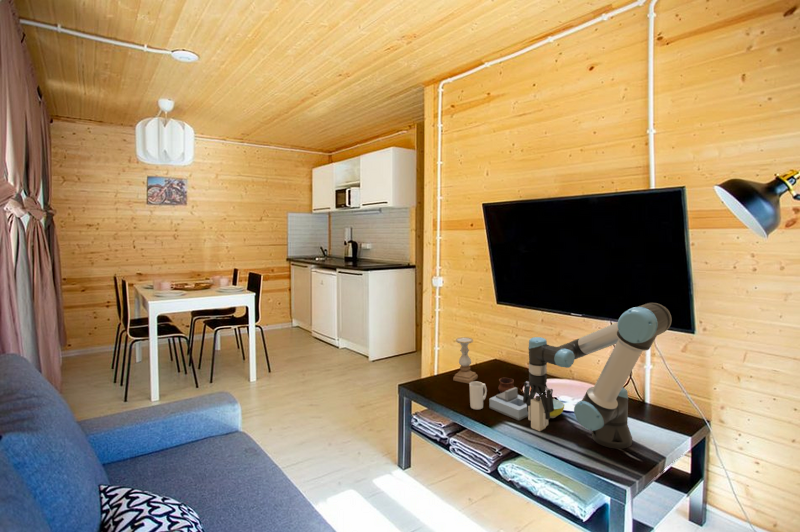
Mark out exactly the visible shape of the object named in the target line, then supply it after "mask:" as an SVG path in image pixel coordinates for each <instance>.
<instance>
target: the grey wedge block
mask: <svg viewBox="0 0 800 532" xmlns="http://www.w3.org/2000/svg"><path fill="white" fill-rule="evenodd" d="M518 391H519V387H516V386H514V388H512V389H509V390H507V391H505V392H503V393H500V392H499V393H497V394H496V395H495V396H496V397H497V398H500V399H502V400H505V401H507V402H508V401H510V400H513V399H515V398H517V397H518V395H519V393H518Z"/></svg>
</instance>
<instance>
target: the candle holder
mask: <svg viewBox="0 0 800 532" xmlns="http://www.w3.org/2000/svg"><path fill="white" fill-rule="evenodd" d="M455 342H456V343H457V344H460V346H461V348H460V352H461V356H460V357H459V359H458V364H459V365H460V366H459V371H458V372H457V373H454V376H453V378H452V380H453V381H455V382H459V383H462V384H463V383H464V384H469V383H470V382H474V381H476V380H477V379H478V377H479V376H478V374H477V373H476V371H472V370H471V364H472V360H471V357H470V356H469V351H470V349H469V347H468V346H469V345H470V344H471V343H473V342H474V339H473V338H472V337H466V336H464V337H463V336H462V337H457V338H455Z"/></svg>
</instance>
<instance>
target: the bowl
mask: <svg viewBox="0 0 800 532" xmlns="http://www.w3.org/2000/svg"><path fill="white" fill-rule="evenodd" d="M553 405H554V411H552V412H550V419H555V418H557V417H559V415H561V414H562V413H563V412H564V409H565V404H564V402H562V401H561V400H558V399H554V398H553Z"/></svg>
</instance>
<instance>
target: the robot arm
mask: <svg viewBox="0 0 800 532" xmlns="http://www.w3.org/2000/svg"><path fill="white" fill-rule="evenodd" d="M672 320H673V319H672V315H671V312H670V310H669V309H668V308H667V307H666V306H664V305H662V304H660V303H657V302H647V303H645V304H642V305H639V306H635V307H631V308H629V309H627V310H625V311H624V312H623V313H622V314H621V315H620V317H619V318H618V321H617V322H614V323H613V324H610V325H608V326H605V327H603V328H601V329H598V330H596V331H593V332H591V333H589V334H586V335H584V336H582V337H579V338H577V339H574V340H572V341H569V342H567V343H564V344H561V345H559V346H554V345H549V344H548V342H547V339H546V338H544V337H538V336H535V337H532V338H531V337H530V339H529V341H528V372H529V373H528V380H526V381H525V382H523V387H524V388H523V389H524V390H523V395H522V396H523V402H524V403H526V405H527V412H528V417H527V418H528V421H531V399H534V398H535V397H536V394H537V395H538V396H539V397H540V398H541V401H542V404H543V407H544V410H545V411H544V412H543V426H544V427H545V426H546V427H547V426H549V420H550V419H551V418H550V412H552V411H554V405H553V399H554V398H553V391H554V390H553V388H549V387H548V386H547V382H548V378H547V377H548V374H547V371H548V367H547V366H548V365H547V364H550V365H554V366H558V367H561V368H567V369H568V368H571V367H572V365H574V362H575V360H577V359H579V358H583V357H586V356H588V355H591V354H593V353H596V352H597V351H601V350H604V349H605V348H606V349H607V348H608V347H609V348H610V347H612V346H614V347H613V349H612V351H611V353H610V355H609V357H608V359H607V361H606V363H605V365H604V366H603V369H602V370H601V372H600V375H599V376H598V378H597V380H596V382H595V384H594V386H591V387H589V388H588V389H587V390H586V393H584V396H583V398H582V399H581V400H579V401H577V402H576V404H575V405H574V408H573V413H574V416H575V419H576V421H577V422H578V423H579V424H580V425H581V426H582V427H583V428H584V429H586V430H588V431H591V438H592V440H593V441H594V442H595V443H596V444H598V445H601V446H602V447H603V446H604V447H606V448H610V449H616V450H617V449H627V448H629V447H631V446H632V445H633V436H632V433H631V431H630V426H629V424H628V423H629V422H628V416H629V414H628V411H629V392H628V390H627V389H626V388H625V387H624V385H625V383H626V382H627V380H628V379H629V376H630V375H631V373H632V371H633V369H634V368H635V366H636V364H637V362H638V360H639V358H640V356H641V355H642V354H643V352H645V351H649V350H650V349H651V347H652V346H653V343H654V341H655V340H656V338H657V337H658V336H659V335H662V334H664V333H665V332H666V331H667V330H668V329H670V327H671V325H672Z"/></svg>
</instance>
